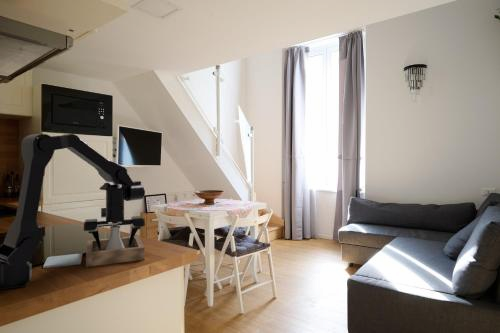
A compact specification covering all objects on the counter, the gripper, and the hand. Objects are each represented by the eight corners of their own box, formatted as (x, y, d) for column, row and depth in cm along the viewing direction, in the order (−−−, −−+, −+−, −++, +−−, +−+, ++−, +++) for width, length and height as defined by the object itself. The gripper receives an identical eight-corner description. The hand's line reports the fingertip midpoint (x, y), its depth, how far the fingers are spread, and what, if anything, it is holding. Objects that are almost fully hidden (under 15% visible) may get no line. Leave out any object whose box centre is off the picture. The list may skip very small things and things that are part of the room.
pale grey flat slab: (43, 268, 93) (43, 266, 93) (47, 258, 102) (47, 256, 102) (81, 263, 98) (81, 262, 98) (82, 255, 107) (82, 253, 107)
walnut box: (86, 266, 95) (86, 253, 95) (87, 251, 111) (87, 240, 111) (144, 259, 103) (144, 247, 103) (138, 246, 118) (138, 235, 118)
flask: (118, 259, 102) (118, 229, 102) (98, 258, 104) (98, 228, 104) (130, 253, 110) (130, 225, 109) (112, 252, 111) (112, 223, 111)
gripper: (141, 198, 118) (140, 239, 118) (85, 200, 110) (85, 245, 110) (145, 202, 108) (144, 247, 108) (83, 205, 99) (83, 254, 100)
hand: (115, 248), depth 107 cm, fingers open, 9 cm apart
